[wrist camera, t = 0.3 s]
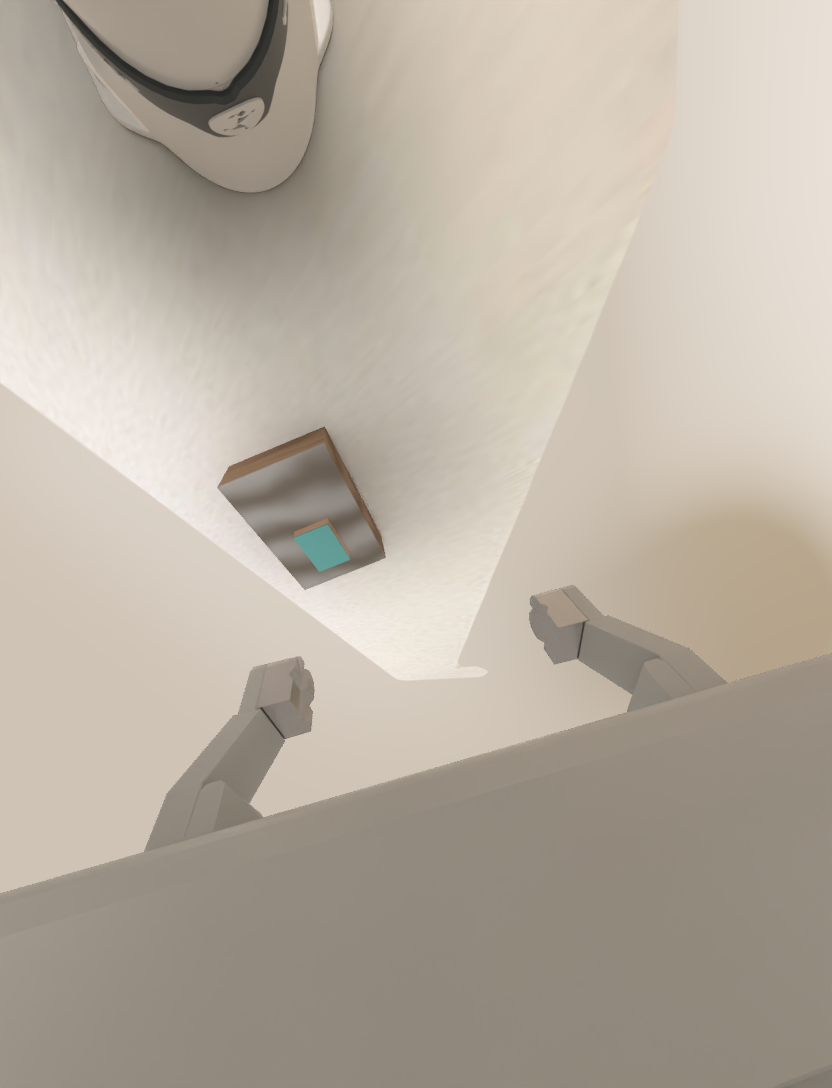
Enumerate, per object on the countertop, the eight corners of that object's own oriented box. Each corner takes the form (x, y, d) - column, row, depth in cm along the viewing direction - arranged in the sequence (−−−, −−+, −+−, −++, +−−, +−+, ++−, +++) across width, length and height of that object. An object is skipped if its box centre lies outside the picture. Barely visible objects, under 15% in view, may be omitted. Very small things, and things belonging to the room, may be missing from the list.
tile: (294, 531, 45) (293, 538, 44) (327, 517, 45) (327, 524, 44) (319, 564, 50) (319, 572, 48) (349, 552, 49) (350, 559, 48)
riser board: (229, 466, 44) (217, 487, 39) (324, 426, 43) (323, 443, 39) (306, 565, 57) (304, 589, 52) (381, 535, 56) (385, 557, 51)
